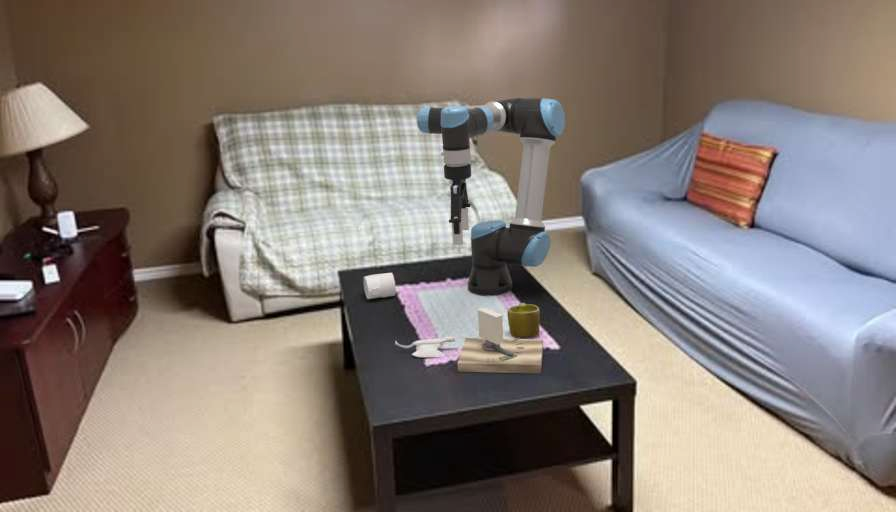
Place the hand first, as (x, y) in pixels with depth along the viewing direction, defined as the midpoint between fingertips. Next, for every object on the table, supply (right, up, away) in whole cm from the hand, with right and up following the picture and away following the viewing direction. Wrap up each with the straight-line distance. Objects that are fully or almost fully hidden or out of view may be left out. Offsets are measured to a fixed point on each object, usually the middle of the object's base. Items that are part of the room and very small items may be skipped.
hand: (461, 237), depth 219 cm
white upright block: (+10, -31, -8) cm, 34 cm away
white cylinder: (-27, -19, +44) cm, 55 cm away
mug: (+19, -28, +9) cm, 35 cm away
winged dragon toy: (-10, -33, 0) cm, 34 cm away
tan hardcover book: (+11, -34, -8) cm, 36 cm away
